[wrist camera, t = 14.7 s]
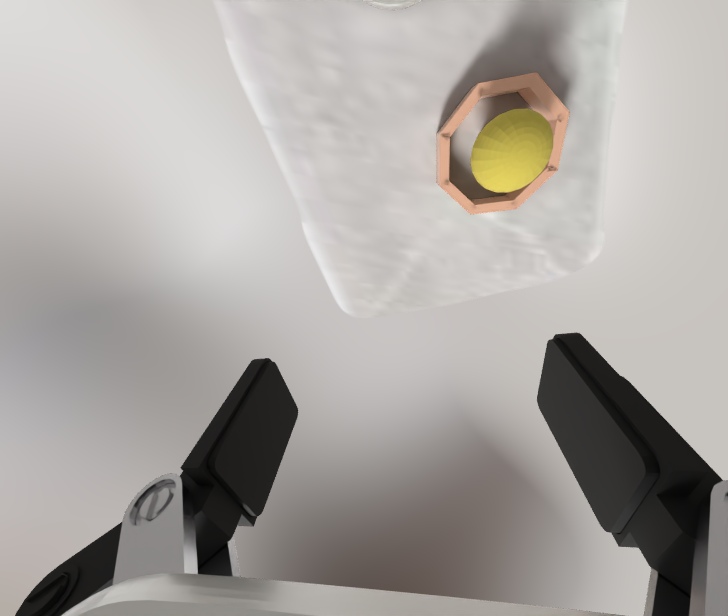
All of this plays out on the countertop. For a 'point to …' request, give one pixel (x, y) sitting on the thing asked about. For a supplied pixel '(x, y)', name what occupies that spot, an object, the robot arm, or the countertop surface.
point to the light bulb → (512, 150)
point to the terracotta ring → (540, 102)
